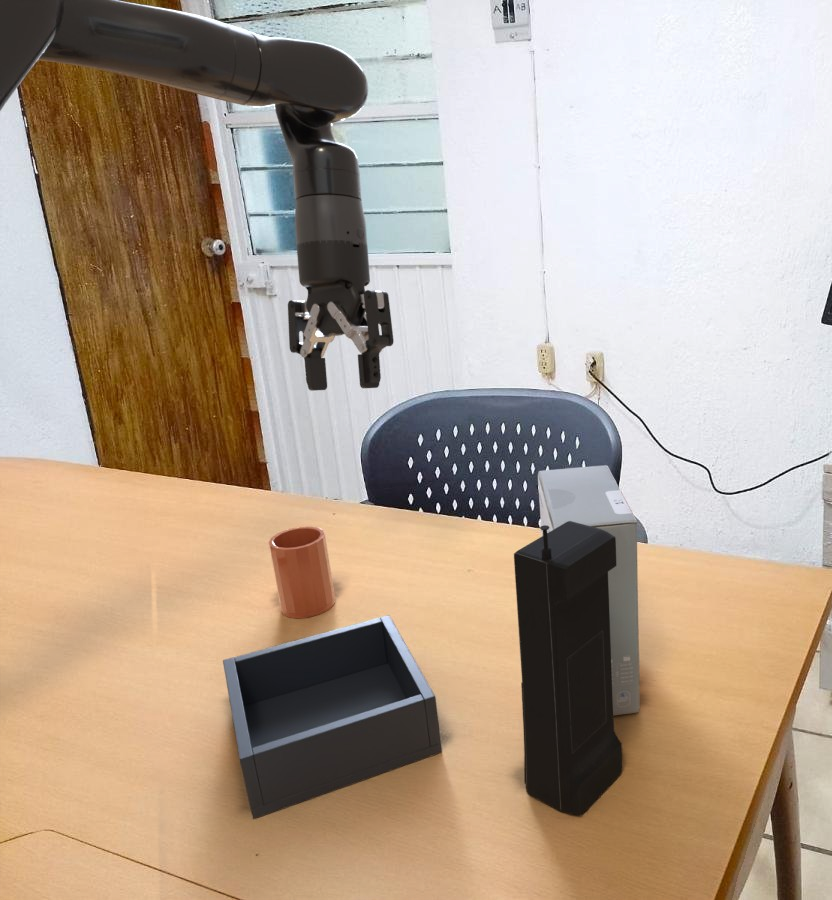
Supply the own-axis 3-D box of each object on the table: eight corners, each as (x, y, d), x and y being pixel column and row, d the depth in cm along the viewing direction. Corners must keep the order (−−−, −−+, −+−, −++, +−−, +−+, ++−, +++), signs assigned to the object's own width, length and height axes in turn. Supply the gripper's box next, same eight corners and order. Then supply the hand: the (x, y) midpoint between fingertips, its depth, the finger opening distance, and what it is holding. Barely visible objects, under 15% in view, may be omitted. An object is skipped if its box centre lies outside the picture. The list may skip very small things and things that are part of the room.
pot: (285, 623, 96) (272, 554, 93) (278, 600, 102) (265, 534, 99) (339, 609, 99) (328, 541, 96) (329, 587, 104) (319, 522, 101)
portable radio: (575, 739, 75) (562, 484, 67) (631, 764, 72) (623, 499, 64) (519, 791, 69) (496, 519, 61) (577, 821, 66) (561, 537, 58)
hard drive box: (642, 715, 78) (638, 522, 72) (562, 725, 77) (550, 531, 71) (613, 628, 93) (607, 462, 86) (545, 636, 92) (534, 468, 85)
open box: (252, 819, 67) (239, 759, 65) (234, 712, 81) (222, 659, 79) (442, 752, 74) (435, 696, 72) (396, 664, 88) (389, 614, 86)
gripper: (262, 247, 92) (274, 392, 94) (350, 230, 85) (362, 388, 86) (316, 254, 99) (327, 390, 100) (403, 238, 91) (413, 385, 93)
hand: (343, 389), depth 93 cm, fingers open, 8 cm apart
